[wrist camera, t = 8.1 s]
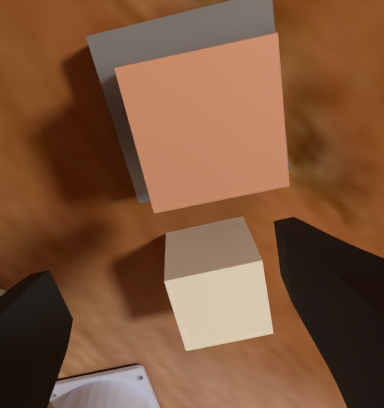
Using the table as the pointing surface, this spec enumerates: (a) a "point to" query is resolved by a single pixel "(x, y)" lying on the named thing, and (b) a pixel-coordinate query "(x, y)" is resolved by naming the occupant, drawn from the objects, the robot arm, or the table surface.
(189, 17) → the gray slab
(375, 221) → the table surface
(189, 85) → the terracotta cube
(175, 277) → the off-white cube
